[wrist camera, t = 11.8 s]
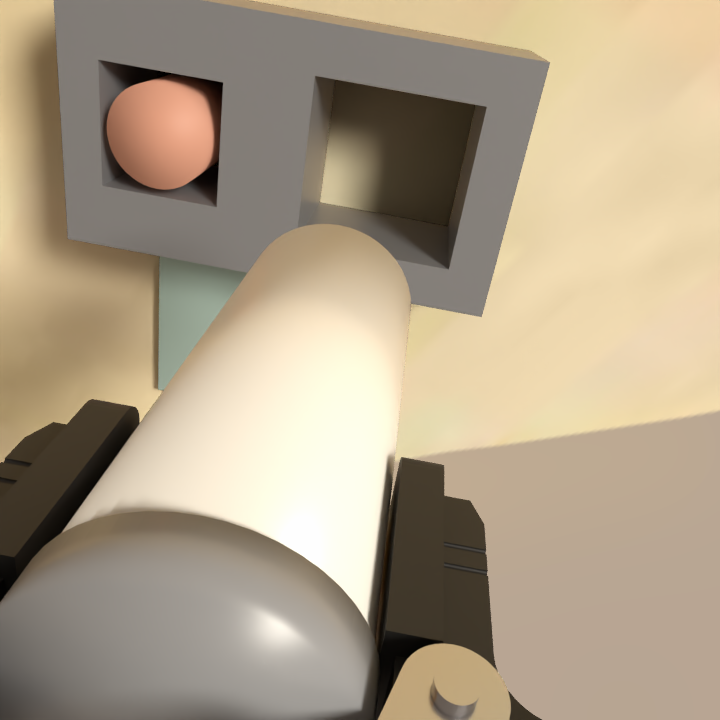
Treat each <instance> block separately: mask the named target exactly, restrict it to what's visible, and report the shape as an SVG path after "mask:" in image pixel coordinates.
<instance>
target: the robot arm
mask: <svg viewBox="0 0 720 720" xmlns="http://www.w3.org/2000/svg"><path fill="white" fill-rule="evenodd" d="M138 425H139V413H138V410H137V408H135V407H132V406H127V405H121V404H116V403H110V402H105V401H100V400H94V399H92V400H89V401H88V402H87V403H86V404H85V405H84V406H83V407H82V408H81V409H80V410H79V411H78V413H77V414H76V415H75V416H74V417H73V418H72V419H71V420H70V422H69V423H68V424H67V425H66V424H60V423H55V422H53V423H51V424H49V425H47V426H46V427H44V428H42V429H40V430H38V431H36V432H34V433H32V434H31V435H29V436H27V437H25V438H24V439H23V440H22V441H21V442H20V443H19V444H18V445H17V446H16V447H15V448H14V449H13V450H12V451H11V453H10V454H9V455H8V456H7V457H6V458H5V461H4V463H3V462H1V463H0V602H1V600H2V599H3V598H4V596H5V595H6V594H7V592H8V591H9V590H10V588H11V587H12V586H13V584H14V583H15V581H16V580H17V579H18V577H19V576H20V575H21V573H22V572H23V571H24V569H25V568H26V566H27V565H28V564H29V562H30V561H31V560H32V558H33V557H34V556H35V555H36V554H37V553H38V552H39V551H40V550H41V549H42V548H43V546H45V545H46V544H47V543H48V542H50V541H51V540H52V539H54V538H55V537H56V536H58V535H59V534H61V533H62V531H63V530H64V529H65V527H66V526H67V524H68V523H69V522H70V520H71V519H72V517H73V516H74V515H75V513H76V512H77V510H78V509H79V508H80V506H81V505H82V503H83V502H84V501H85V499H86V498H87V496H88V495H89V494H90V492H91V491H92V489H93V488H94V487H95V485H96V484H97V482H98V481H99V480H100V478H101V477H102V476H103V474H104V473H105V471H106V470H107V469H108V467H109V466H110V464H111V463H112V462H113V460H114V459H115V457H116V456H117V455H118V453H119V452H120V450H121V449H122V448H123V446H124V445H125V443H126V442H127V441H128V439H129V438H130V436H131V435H132V434H133V432H134V431H135V429H136V428H137V427H138ZM485 552H486V544H485V530H484V524H483V522H482V520H481V518H480V517H479V515H478V513H477V512H476V510H475V508H474V507H473V505H472V503H471V502H470V501H469V500H463V499H457V498H452V497H447V496H444V465H441V464H436V463H430V462H425V461H420V460H414V459H409V458H403V457H401V460H400V463H399V468H398V472H397V477H396V481H395V486H394V491H393V496H392V500H391V505H390V509H389V518H388V527H387V537H386V546H385V555H384V565H383V574H382V584H381V593H380V602H379V612H378V621H377V630H376V640H375V643H376V647H377V650H378V654H379V663H380V681H379V692H378V702H377V713H376V720H542V719H540V718H538V717H536V716H535V715H533V714H532V713H530V712H529V711H528V710H526V709H525V708H524V707H523V706H522V705H521V704H520V703H519V702H518V701H517V700H516V699H514V697H513V696H512V695H511V694H510V692H509V691H508V690H507V687H506V685H505V683H504V681H503V679H502V677H501V676H500V674H499V673H498V671H497V668H496V665H495V661H494V654H493V639H492V625H491V612H490V598H489V584H488V576H487V571H488V570H487V557H486V555H485Z"/></svg>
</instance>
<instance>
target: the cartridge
mask: <svg viewBox="0 0 720 720" xmlns="http://www.w3.org/2000/svg"><path fill="white" fill-rule="evenodd" d="M410 311H411V298H410V292H409V287H408V284H407V281H406V278H405V275H404V273H403V271H402V269H401V267H400V266H399V264H398V263H397V261H396V260H395V258H394V257H393V256H392V255H391V254H390V253H389V251H388V250H387V249H385V248H384V247H383V246H382V245H381V244H380V243H379V242H377V241H376V240H374V239H373V238H371V237H370V236H368V235H366V234H364V233H362V232H360V231H357V230H355V229H352V228H349V227H345V226H341V225H334V224H313V225H307V226H303V227H299V228H296V229H293V230H291V231H289V232H287V233H285V234H283V235H282V236H280V237H278V238H277V239H275V240H274V241H273V242H272V243H271V244H270V245H269V246H268V247H267V248H266V249H265V250H264V251H263V252H262V253H261V255H260V256H259V258H258V259H257V260H256V262H255V263H254V265H253V266H252V267H251V269H250V270H249V272H248V273H247V274H246V276H245V277H244V279H243V280H242V281H241V283H240V284H239V286H238V287H237V288H236V290H235V291H234V293H233V294H232V295H231V297H230V298H229V300H228V301H227V302H226V304H225V305H224V307H223V308H222V309H221V311H220V312H219V314H218V315H217V316H216V318H215V319H214V321H213V322H212V323H211V325H210V326H209V327H208V329H207V330H206V332H205V333H204V334H203V336H202V337H201V339H200V340H199V341H198V343H197V344H196V346H195V347H194V348H193V350H192V351H191V353H190V354H189V355H188V357H187V358H186V360H185V361H184V362H183V364H182V365H181V367H180V368H179V369H178V371H177V372H176V374H175V375H174V376H173V378H172V379H171V381H170V382H169V383H168V385H167V386H166V388H165V389H164V390H163V392H162V393H161V395H160V396H159V397H158V399H157V400H156V402H155V403H154V404H153V406H152V407H151V408H150V410H149V411H148V413H147V414H146V415H145V417H144V418H143V420H142V421H141V422H140V424H139V425H138V427H137V428H136V429H135V431H134V432H133V434H132V435H131V436H130V438H129V439H128V441H127V442H126V443H125V445H124V446H123V448H122V449H121V450H120V452H119V453H118V455H117V456H116V457H115V459H114V460H113V462H112V463H111V464H110V466H109V467H108V469H107V470H106V471H105V473H104V474H103V476H102V477H101V478H100V480H99V481H98V482H97V484H96V485H95V487H94V488H93V489H92V491H91V492H90V494H89V495H88V496H87V498H86V499H85V501H84V502H83V503H82V505H81V506H80V508H79V509H78V510H77V512H76V513H75V515H74V516H73V517H72V519H71V520H70V522H69V523H68V524H67V526H66V527H65V529H64V530H63V531H62V533H61V534H59V535H58V536H56V537H55V538H54V539H52V540H51V541H50V542H48V543H47V544H46V545H45V546H43V548H42V549H41V550H40V551H39V552H38V553H37V554H36V555H35V556H34V557H33V558H32V560H31V561H30V562H29V564H28V565H27V566H26V568H25V569H24V571H23V572H22V573H21V575H20V576H19V577H18V579H17V580H16V581H15V583H14V584H13V586H12V587H11V588H10V590H9V591H8V592H7V594H6V595H5V596H4V598H3V599H2V600H1V602H0V720H376V713H377V702H378V692H379V681H380V663H379V654H378V650H377V647H376V643H375V640H376V630H377V621H378V612H379V602H380V593H381V584H382V574H383V565H384V555H385V546H386V537H387V527H388V518H389V508H390V499H391V490H392V480H393V471H394V461H395V452H396V443H397V433H398V424H399V414H400V405H401V396H402V386H403V377H404V368H405V358H406V349H407V339H408V330H409V321H410Z"/></svg>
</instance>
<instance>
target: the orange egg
mask: <svg viewBox="0 0 720 720" xmlns="http://www.w3.org/2000/svg"><path fill="white" fill-rule="evenodd" d="M222 95H223V82H218V81H213V80H207V79H202V78H196V77H191V76H185V75H180V74H171V75H168V76H164V77H161V78H157V79H153V80H150V81H146V82H142V83H139V84H136V85H133V86H131V87H129V88H127V89H125V90H124V91H123V92H121V93H120V94H119V95H118V96H117V98H116V99H115V100H114V102H113V104H112V106H111V108H110V110H109V114H108V118H107V137H108V141H109V145H110V148H111V150H112V153H113V155H114V157H115V158H116V160H117V162H118V163H119V165H120V166H121V167H122V168H123V169H124V171H125V172H126V173H127V174H129V175H130V176H131V177H132V178H133V179H135V180H136V181H138V182H140V183H142V184H143V185H146V186H148V187H151V188H155V189H163V190H166V189H175V188H178V187H181V186H183V185H186V184H187V183H189V182H190V181H192V180H193V179H194V178H196V177H197V176H199V175H200V174H201V173H203V172H204V171H206V170H207V169H208V168H210V167H211V166H213V165H214V164H215V163H217V162H218V161H219V152H220V133H221V114H222Z"/></svg>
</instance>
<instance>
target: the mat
mask: <svg viewBox="0 0 720 720" xmlns="http://www.w3.org/2000/svg"><path fill="white" fill-rule="evenodd" d="M246 274H247V273H246V272H241V271H235V270H230V269H225V268H220V267H214V266H209V265H204V264H198V263H193V262H188V261H182V260H177V259H172V258H166V257H161V256H160V262H159V361H158V390H164V389H165V388H166V386H167V385H168V383H169V382H170V381H171V379H172V378H173V376H174V375H175V374H176V372H177V371H178V369H179V368H180V367H181V365H182V364H183V362H184V361H185V360H186V358H187V357H188V355H189V354H190V353H191V351H192V350H193V348H194V347H195V346H196V344H197V343H198V341H199V340H200V339H201V337H202V336H203V334H204V333H205V332H206V330H207V329H208V327H209V326H210V325H211V323H212V322H213V321H214V319H215V318H216V316H217V315H218V314H219V312H220V311H221V309H222V308H223V307H224V305H225V304H226V302H227V301H228V300H229V298H230V297H231V295H232V294H233V293H234V291H235V290H236V288H237V287H238V286H239V284H240V283H241V281H242V280H243V279H244V277H245V276H246Z"/></svg>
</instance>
